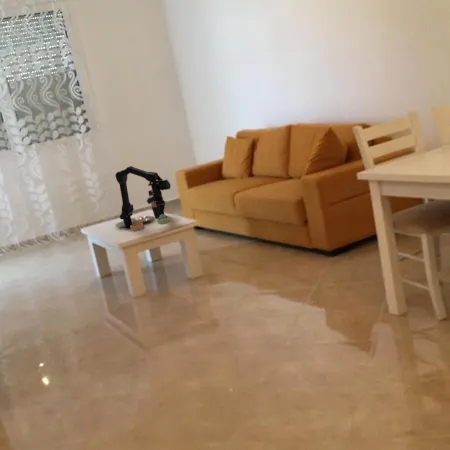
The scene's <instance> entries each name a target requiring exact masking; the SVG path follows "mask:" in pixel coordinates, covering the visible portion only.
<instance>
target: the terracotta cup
mask: <svg viewBox="0 0 450 450" xmlns="http://www.w3.org/2000/svg"><path fill="white" fill-rule="evenodd" d="M129 227H130V230H131V232H132V231H138V230H142V229H143V228H145V227H144V222H136V223H135V222H134V223H133V224H132V225H131V226H129Z"/></svg>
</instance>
